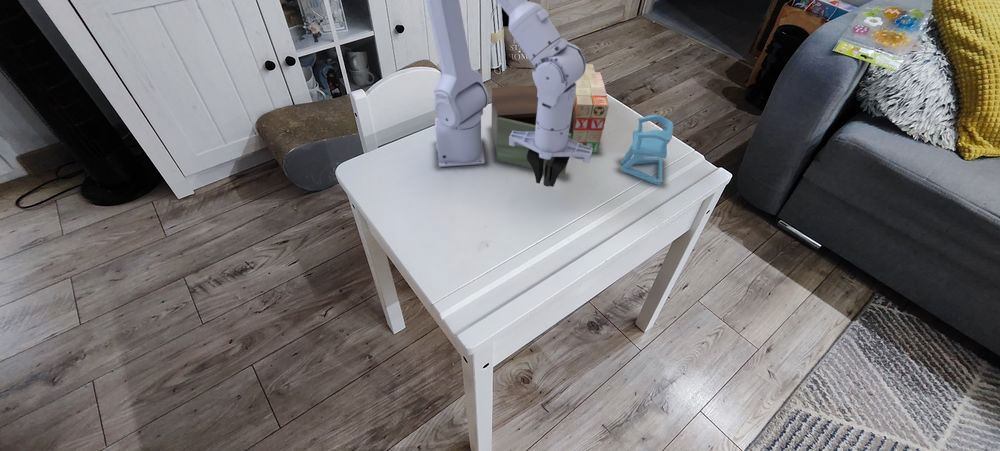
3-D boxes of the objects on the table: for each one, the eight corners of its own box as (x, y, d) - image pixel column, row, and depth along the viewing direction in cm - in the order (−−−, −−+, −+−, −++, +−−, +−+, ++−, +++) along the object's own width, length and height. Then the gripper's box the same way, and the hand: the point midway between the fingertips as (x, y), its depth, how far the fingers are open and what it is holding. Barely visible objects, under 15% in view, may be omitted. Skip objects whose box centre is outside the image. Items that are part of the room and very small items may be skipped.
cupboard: (564, 153, 98) (570, 110, 90) (496, 157, 96) (497, 115, 89) (554, 125, 105) (560, 84, 97) (491, 129, 103) (491, 87, 95)
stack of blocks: (562, 98, 112) (568, 50, 103) (587, 98, 112) (596, 51, 103) (569, 153, 98) (577, 103, 89) (598, 154, 98) (609, 104, 89)
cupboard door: (554, 199, 88) (561, 157, 80) (484, 180, 91) (484, 138, 84) (564, 174, 93) (571, 133, 85) (497, 158, 96) (498, 116, 88)
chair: (621, 155, 98) (635, 106, 89) (661, 161, 97) (678, 113, 88) (619, 178, 93) (633, 129, 84) (661, 185, 92) (679, 136, 83)
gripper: (504, 125, 75) (502, 186, 85) (591, 144, 72) (579, 204, 82) (517, 102, 79) (514, 163, 89) (599, 119, 76) (586, 180, 86)
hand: (545, 181), depth 86 cm, fingers closed
